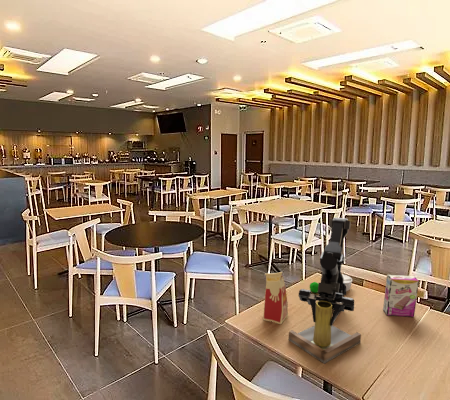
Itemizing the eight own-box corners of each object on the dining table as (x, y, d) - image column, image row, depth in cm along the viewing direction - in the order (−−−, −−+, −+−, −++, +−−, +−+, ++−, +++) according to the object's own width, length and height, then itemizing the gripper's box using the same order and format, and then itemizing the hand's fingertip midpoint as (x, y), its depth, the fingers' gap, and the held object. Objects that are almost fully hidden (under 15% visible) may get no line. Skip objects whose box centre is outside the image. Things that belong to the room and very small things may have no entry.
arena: (288, 340, 122) (288, 331, 121) (324, 323, 133) (324, 315, 133) (324, 363, 109) (324, 354, 108) (360, 342, 120) (361, 334, 120)
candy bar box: (387, 316, 139) (390, 279, 136) (382, 310, 144) (386, 274, 141) (415, 317, 138) (419, 280, 135) (409, 311, 143) (413, 275, 140)
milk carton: (287, 314, 140) (289, 269, 137) (282, 324, 132) (283, 277, 128) (267, 309, 144) (268, 265, 140) (260, 319, 136) (261, 273, 132)
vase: (334, 341, 117) (336, 304, 114) (325, 349, 113) (327, 310, 110) (318, 334, 121) (320, 298, 119) (309, 341, 117) (311, 304, 114)
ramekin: (346, 295, 158) (346, 284, 157) (324, 288, 165) (324, 278, 164) (355, 287, 166) (356, 277, 165) (333, 281, 173) (334, 271, 172)
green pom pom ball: (307, 292, 160) (308, 283, 159) (310, 288, 164) (311, 279, 163) (318, 295, 158) (318, 285, 157) (321, 291, 162) (321, 281, 161)
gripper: (300, 267, 120) (292, 310, 112) (356, 276, 112) (351, 323, 104) (304, 279, 128) (296, 320, 121) (356, 289, 121) (351, 332, 113)
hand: (322, 323), depth 114 cm, fingers closed on vase, 5 cm apart
